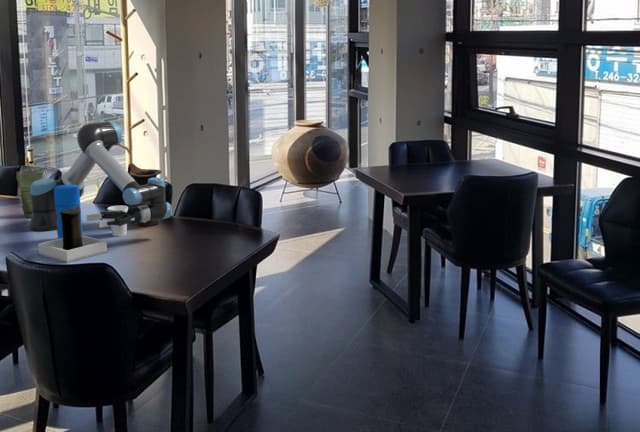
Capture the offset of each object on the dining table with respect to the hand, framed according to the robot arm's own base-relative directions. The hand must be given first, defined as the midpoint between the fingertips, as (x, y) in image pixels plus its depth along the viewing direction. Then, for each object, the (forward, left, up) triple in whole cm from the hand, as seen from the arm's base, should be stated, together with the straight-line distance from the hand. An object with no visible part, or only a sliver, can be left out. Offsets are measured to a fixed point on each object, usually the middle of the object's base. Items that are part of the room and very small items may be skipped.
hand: (93, 221), depth 323 cm
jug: (-19, +46, -13) cm, 51 cm away
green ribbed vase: (-79, +22, -13) cm, 82 cm away
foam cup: (-13, +24, -13) cm, 30 cm away
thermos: (-23, +4, -13) cm, 26 cm away
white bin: (-3, -9, -13) cm, 16 cm away
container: (-3, -9, -12) cm, 16 cm away
